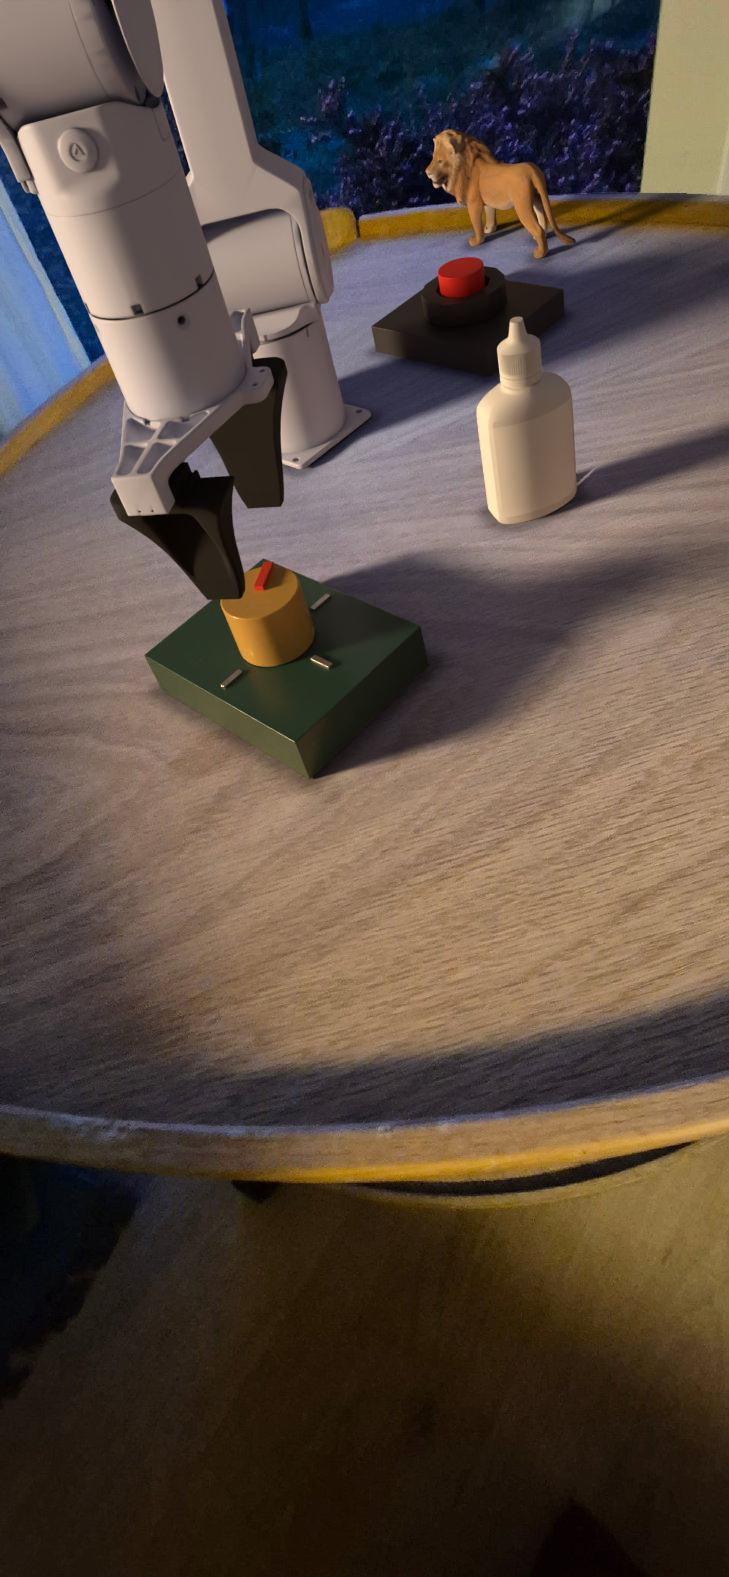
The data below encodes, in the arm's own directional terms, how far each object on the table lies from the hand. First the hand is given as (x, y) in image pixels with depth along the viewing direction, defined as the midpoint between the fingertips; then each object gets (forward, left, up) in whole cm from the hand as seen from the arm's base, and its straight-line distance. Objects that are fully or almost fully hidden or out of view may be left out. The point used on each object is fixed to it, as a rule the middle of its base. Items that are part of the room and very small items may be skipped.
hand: (246, 547), depth 50 cm
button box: (-15, +36, -8) cm, 40 cm away
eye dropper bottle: (+4, +19, -8) cm, 21 cm away
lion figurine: (-23, +51, -8) cm, 56 cm away
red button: (-15, +36, -5) cm, 39 cm away
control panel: (+1, -1, -8) cm, 8 cm away
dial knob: (+1, -1, -5) cm, 5 cm away
